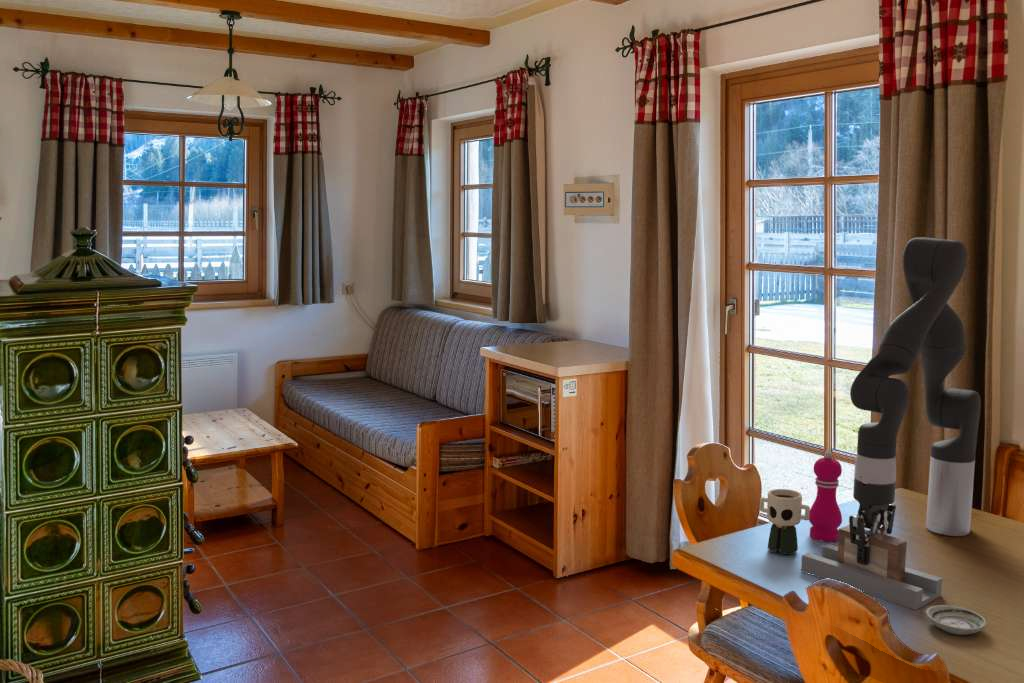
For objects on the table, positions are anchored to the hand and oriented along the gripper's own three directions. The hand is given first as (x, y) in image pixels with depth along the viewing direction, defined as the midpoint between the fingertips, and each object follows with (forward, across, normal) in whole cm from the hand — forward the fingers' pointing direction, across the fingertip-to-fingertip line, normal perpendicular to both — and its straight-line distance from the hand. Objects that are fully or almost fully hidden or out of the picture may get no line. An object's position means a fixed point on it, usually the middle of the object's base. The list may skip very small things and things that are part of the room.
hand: (870, 559), depth 180 cm
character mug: (+5, -2, -21) cm, 22 cm away
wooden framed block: (+4, 0, 0) cm, 4 cm away
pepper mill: (+5, -17, -20) cm, 27 cm away
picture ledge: (+5, 0, 0) cm, 5 cm away
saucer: (+5, +7, +20) cm, 22 cm away
